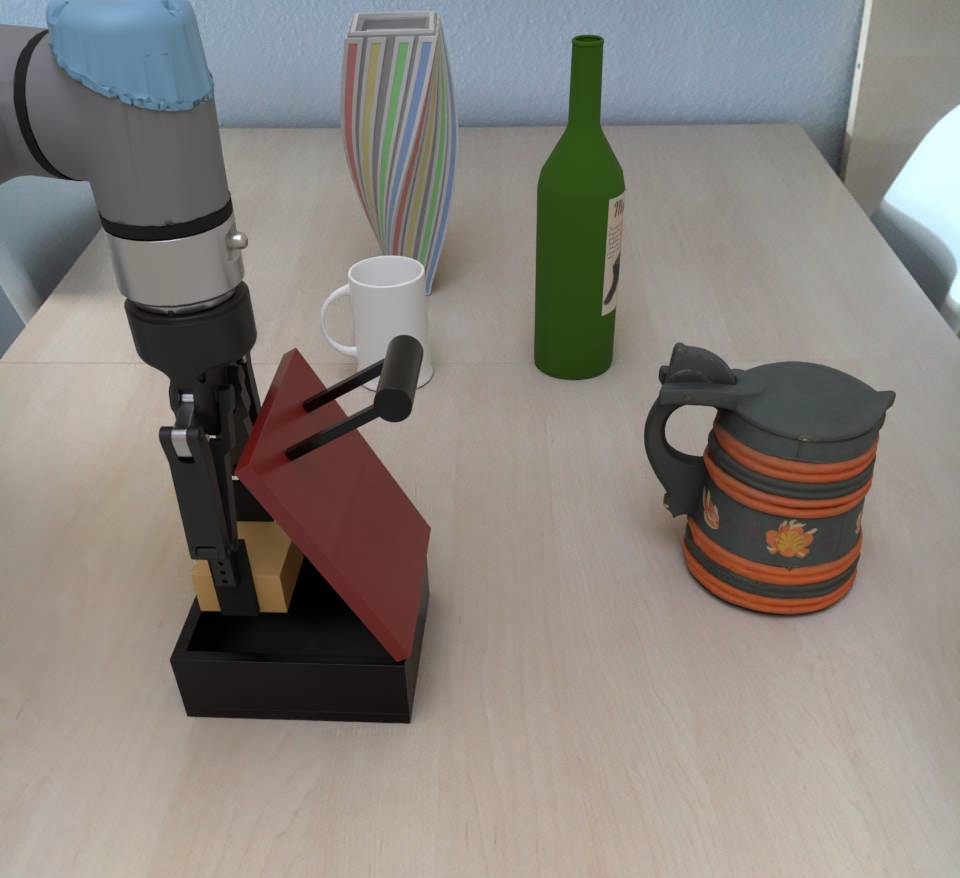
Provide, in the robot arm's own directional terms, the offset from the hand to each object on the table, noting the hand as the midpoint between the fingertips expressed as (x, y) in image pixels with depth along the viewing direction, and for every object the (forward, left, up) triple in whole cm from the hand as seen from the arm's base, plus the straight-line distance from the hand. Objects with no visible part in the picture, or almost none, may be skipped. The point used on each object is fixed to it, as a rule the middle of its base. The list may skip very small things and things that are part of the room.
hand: (251, 580), depth 78 cm
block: (0, 0, 0) cm, 0 cm away
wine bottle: (+7, +54, -7) cm, 55 cm away
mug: (-12, +43, -7) cm, 46 cm away
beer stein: (+33, +25, -7) cm, 42 cm away
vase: (-19, +65, -7) cm, 69 cm away
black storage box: (+4, +1, -7) cm, 8 cm away
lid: (+7, +3, +7) cm, 10 cm away
